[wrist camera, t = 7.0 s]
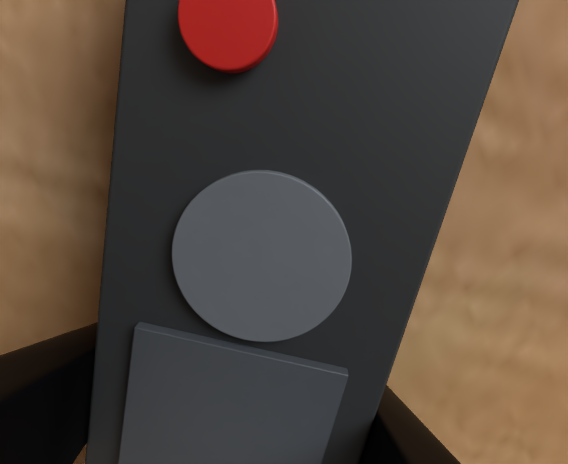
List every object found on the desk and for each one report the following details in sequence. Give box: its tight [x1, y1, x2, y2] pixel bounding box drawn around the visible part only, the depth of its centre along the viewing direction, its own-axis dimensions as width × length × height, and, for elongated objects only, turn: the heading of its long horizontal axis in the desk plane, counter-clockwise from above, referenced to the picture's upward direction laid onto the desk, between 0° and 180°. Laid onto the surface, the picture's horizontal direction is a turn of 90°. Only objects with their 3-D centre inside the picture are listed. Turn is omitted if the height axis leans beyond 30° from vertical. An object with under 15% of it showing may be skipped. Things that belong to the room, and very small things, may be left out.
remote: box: [85, 0, 519, 464], centre depth 8 cm, size 17×5×3 cm, turn 168°
